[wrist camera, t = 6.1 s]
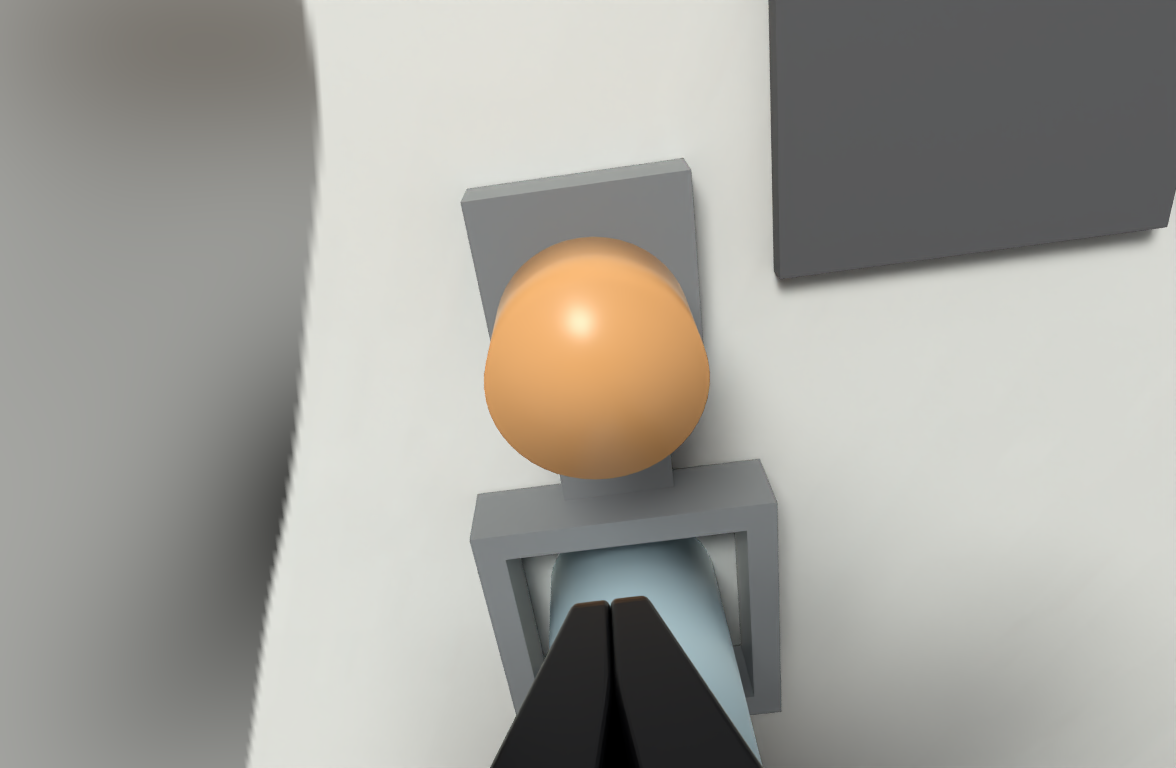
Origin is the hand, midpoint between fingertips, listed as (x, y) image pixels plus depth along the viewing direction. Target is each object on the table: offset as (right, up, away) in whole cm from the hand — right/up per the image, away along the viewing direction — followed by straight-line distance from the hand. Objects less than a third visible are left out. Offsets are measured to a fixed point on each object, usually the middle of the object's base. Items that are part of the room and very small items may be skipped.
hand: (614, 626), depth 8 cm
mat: (+8, +10, +8) cm, 15 cm away
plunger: (0, +4, +8) cm, 9 cm away
